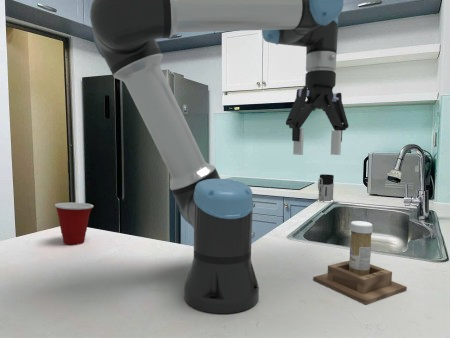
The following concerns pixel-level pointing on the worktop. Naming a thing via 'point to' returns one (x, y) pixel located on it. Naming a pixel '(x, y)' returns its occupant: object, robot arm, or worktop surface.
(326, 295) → the worktop surface
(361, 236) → the sprinkles bottle
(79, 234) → the plastic cup
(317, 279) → the walnut socket block
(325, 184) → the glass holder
